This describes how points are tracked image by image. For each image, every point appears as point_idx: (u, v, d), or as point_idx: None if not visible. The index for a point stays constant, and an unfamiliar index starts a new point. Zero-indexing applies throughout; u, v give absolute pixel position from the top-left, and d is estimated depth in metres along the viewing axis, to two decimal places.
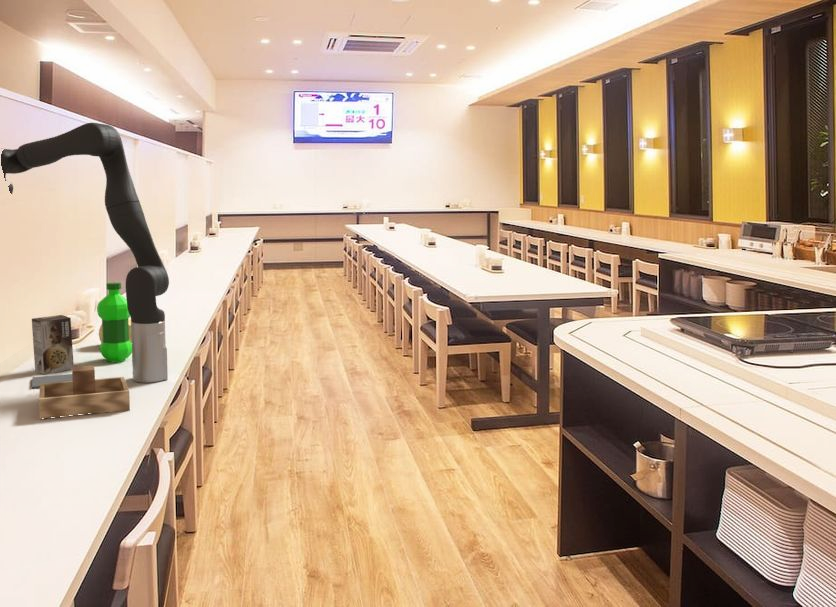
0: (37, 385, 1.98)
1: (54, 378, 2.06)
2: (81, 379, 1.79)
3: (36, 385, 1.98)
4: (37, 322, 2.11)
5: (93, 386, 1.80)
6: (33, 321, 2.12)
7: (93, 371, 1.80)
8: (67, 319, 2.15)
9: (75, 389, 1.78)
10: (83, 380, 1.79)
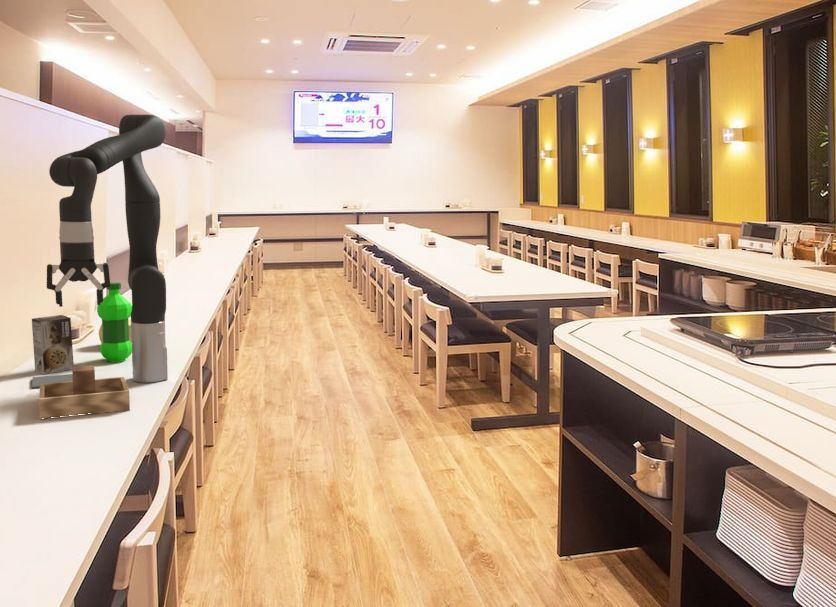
0: (37, 385, 1.98)
1: (54, 378, 2.06)
2: (81, 379, 1.79)
3: (36, 385, 1.98)
4: (37, 322, 2.11)
5: (93, 386, 1.80)
6: (33, 321, 2.12)
7: (93, 371, 1.80)
8: (67, 319, 2.15)
9: (75, 389, 1.78)
10: (83, 380, 1.79)
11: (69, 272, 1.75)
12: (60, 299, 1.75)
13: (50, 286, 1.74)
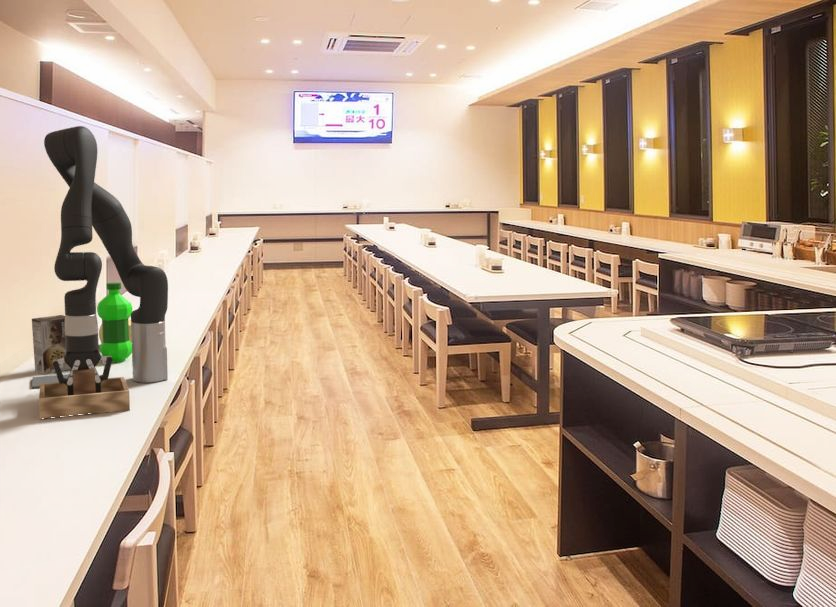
0: (37, 385, 1.98)
1: (54, 378, 2.06)
2: (81, 379, 1.79)
3: (36, 385, 1.98)
4: (37, 322, 2.11)
5: (93, 386, 1.80)
6: (33, 321, 2.12)
7: (93, 371, 1.80)
8: None
9: (75, 388, 1.78)
10: (83, 380, 1.79)
11: (75, 364, 1.78)
12: (72, 392, 1.80)
13: (62, 380, 1.78)
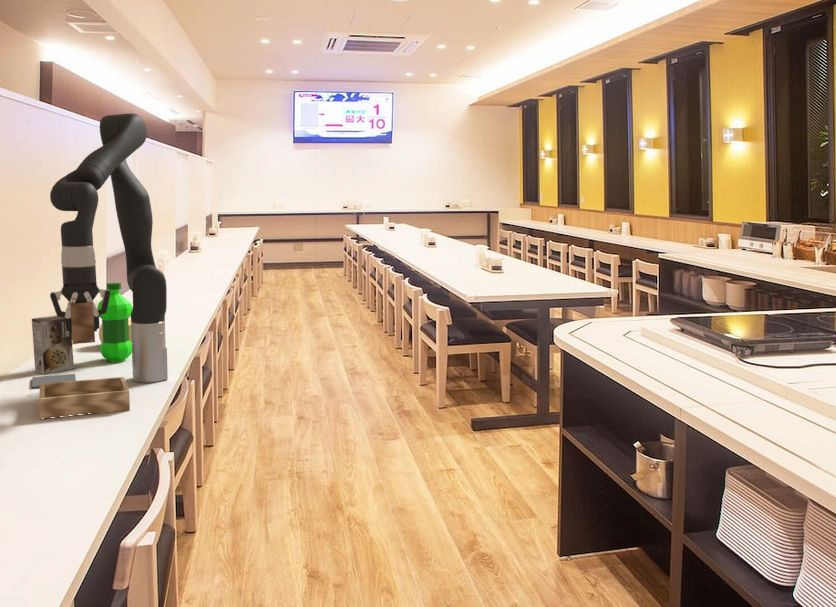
0: (37, 385, 1.98)
1: (54, 378, 2.06)
2: (79, 312, 1.76)
3: (36, 385, 1.98)
4: (37, 322, 2.11)
5: (92, 319, 1.78)
6: (33, 321, 2.12)
7: (91, 304, 1.77)
8: None
9: (73, 321, 1.76)
10: (81, 313, 1.76)
11: (72, 297, 1.75)
12: (70, 326, 1.77)
13: (60, 313, 1.75)
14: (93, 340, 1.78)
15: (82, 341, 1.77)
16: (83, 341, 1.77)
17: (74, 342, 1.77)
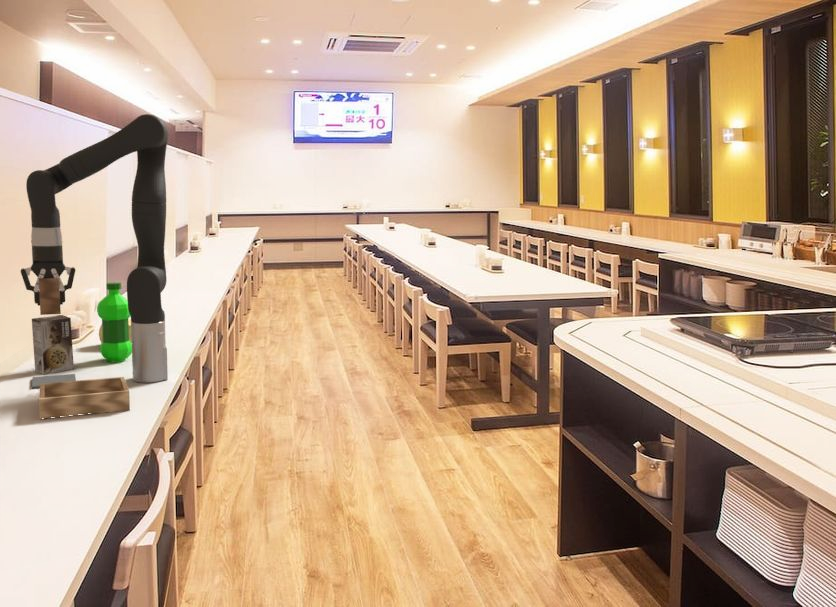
0: (37, 385, 1.98)
1: (54, 378, 2.06)
2: (46, 286, 1.97)
3: (36, 385, 1.98)
4: (37, 322, 2.11)
5: (58, 293, 1.99)
6: (33, 321, 2.12)
7: (58, 279, 1.98)
8: (67, 319, 2.15)
9: (41, 295, 1.97)
10: (48, 287, 1.97)
11: (41, 273, 1.97)
12: (38, 299, 1.98)
13: (29, 287, 1.96)
14: (59, 312, 2.00)
15: (49, 312, 1.98)
16: (50, 313, 1.99)
17: (41, 313, 1.98)
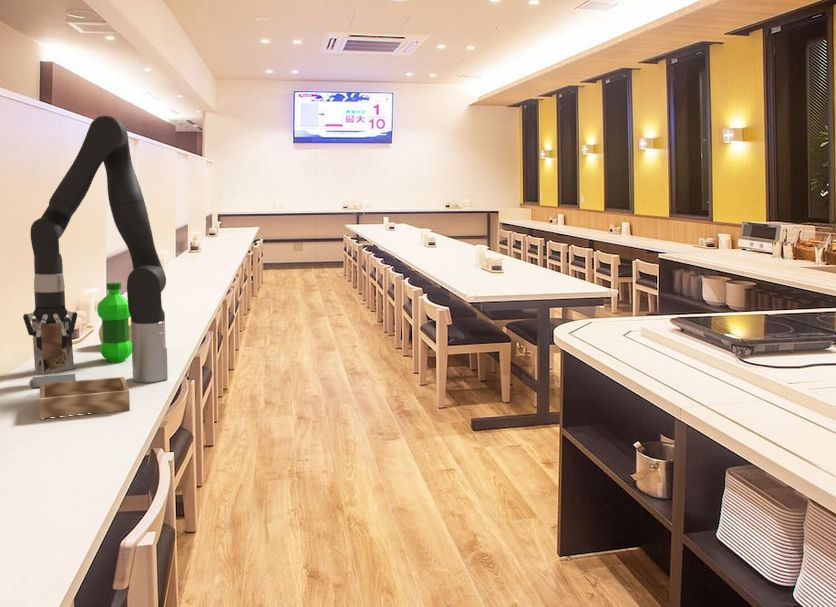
0: (37, 385, 1.98)
1: (54, 378, 2.06)
2: (48, 332, 1.99)
3: (36, 385, 1.98)
4: (37, 322, 2.11)
5: (60, 338, 2.01)
6: (33, 321, 2.12)
7: (60, 325, 2.00)
8: (67, 319, 2.15)
9: (43, 340, 1.99)
10: (51, 332, 2.00)
11: (43, 318, 1.99)
12: (40, 344, 2.00)
13: (31, 332, 1.99)
14: (61, 356, 2.02)
15: (51, 357, 2.01)
16: (51, 357, 2.01)
17: (43, 358, 2.00)
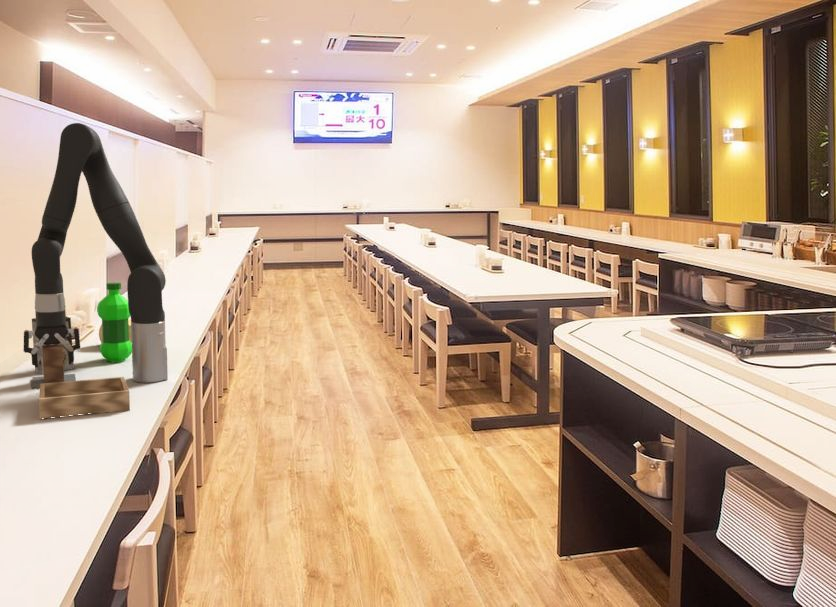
0: (37, 385, 1.98)
1: None
2: (50, 355, 2.00)
3: (36, 385, 1.98)
4: None
5: (61, 361, 2.02)
6: (33, 321, 2.12)
7: (61, 348, 2.01)
8: (67, 319, 2.15)
9: (45, 363, 2.00)
10: (52, 356, 2.01)
11: (43, 337, 1.99)
12: (35, 361, 2.00)
13: (27, 350, 1.99)
14: (62, 379, 2.03)
15: (52, 380, 2.01)
16: (53, 380, 2.02)
17: (45, 381, 2.01)
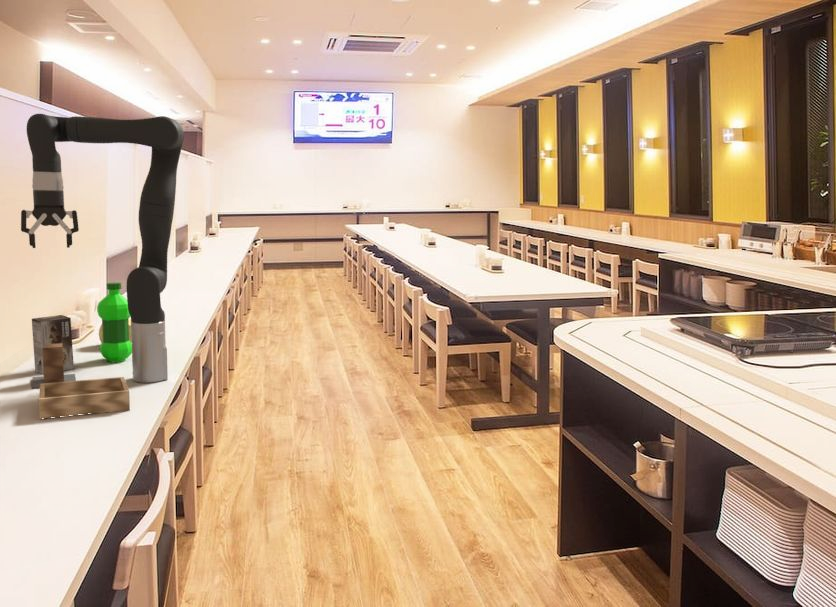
0: (37, 385, 1.98)
1: None
2: (50, 355, 2.00)
3: (36, 385, 1.98)
4: (37, 322, 2.11)
5: (61, 361, 2.02)
6: (33, 321, 2.12)
7: (61, 348, 2.01)
8: (67, 319, 2.15)
9: (45, 363, 2.00)
10: (52, 356, 2.01)
11: (41, 217, 1.97)
12: (33, 241, 1.97)
13: (24, 229, 1.96)
14: (62, 379, 2.03)
15: (52, 380, 2.01)
16: (53, 380, 2.02)
17: (45, 381, 2.01)
